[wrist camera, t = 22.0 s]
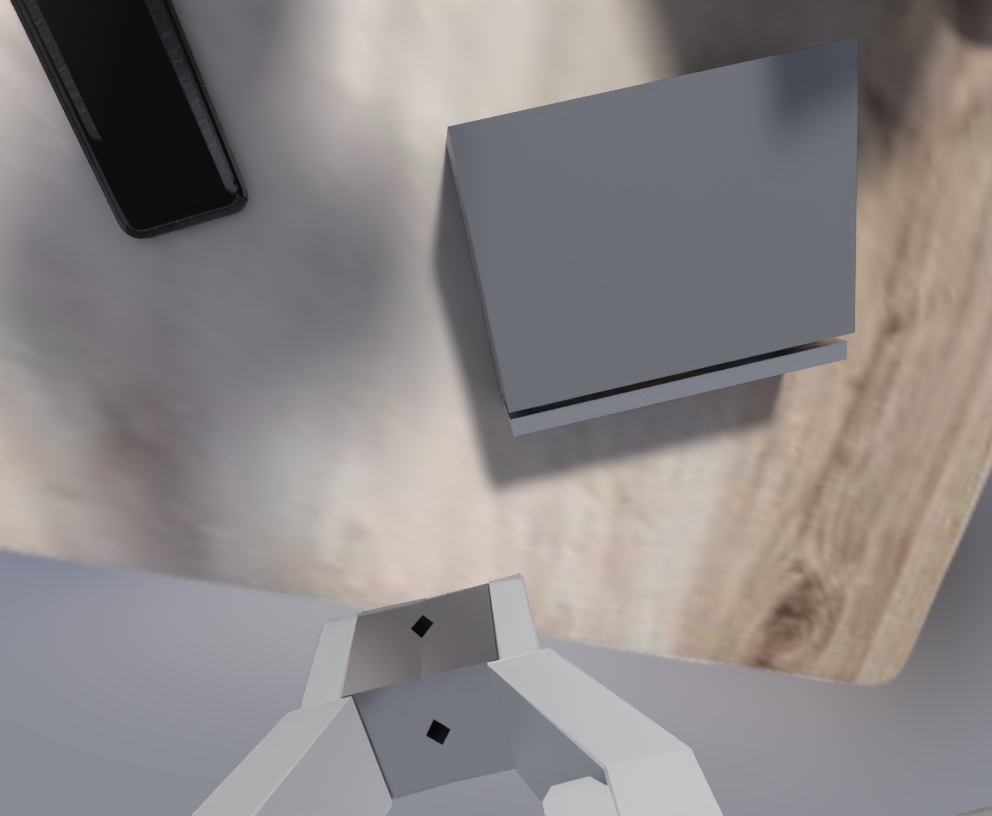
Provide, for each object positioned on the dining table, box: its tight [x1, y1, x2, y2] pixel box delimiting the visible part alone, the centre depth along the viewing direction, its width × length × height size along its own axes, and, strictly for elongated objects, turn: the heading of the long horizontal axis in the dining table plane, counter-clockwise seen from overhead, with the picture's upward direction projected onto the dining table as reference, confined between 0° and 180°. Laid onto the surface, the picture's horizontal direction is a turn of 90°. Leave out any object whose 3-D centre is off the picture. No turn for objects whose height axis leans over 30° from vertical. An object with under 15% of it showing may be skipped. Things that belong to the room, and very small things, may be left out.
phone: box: [11, 0, 248, 239], centre depth 32 cm, size 8×1×15 cm
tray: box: [501, 337, 847, 437], centre depth 35 cm, size 16×22×6 cm
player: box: [446, 37, 859, 413], centre depth 34 cm, size 16×22×6 cm
